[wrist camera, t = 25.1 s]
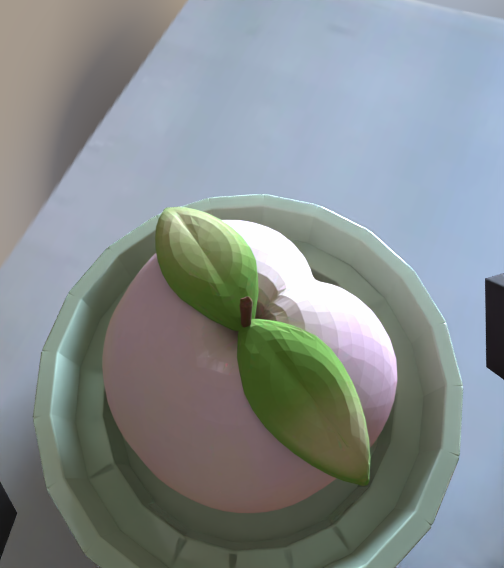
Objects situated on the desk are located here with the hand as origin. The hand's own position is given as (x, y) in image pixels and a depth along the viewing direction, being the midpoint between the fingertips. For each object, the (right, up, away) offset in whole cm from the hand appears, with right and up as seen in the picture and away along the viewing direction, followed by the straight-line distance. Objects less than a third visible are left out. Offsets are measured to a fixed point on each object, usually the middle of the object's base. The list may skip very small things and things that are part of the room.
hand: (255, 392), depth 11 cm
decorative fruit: (0, -2, +8) cm, 8 cm away
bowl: (0, -2, +8) cm, 9 cm away
